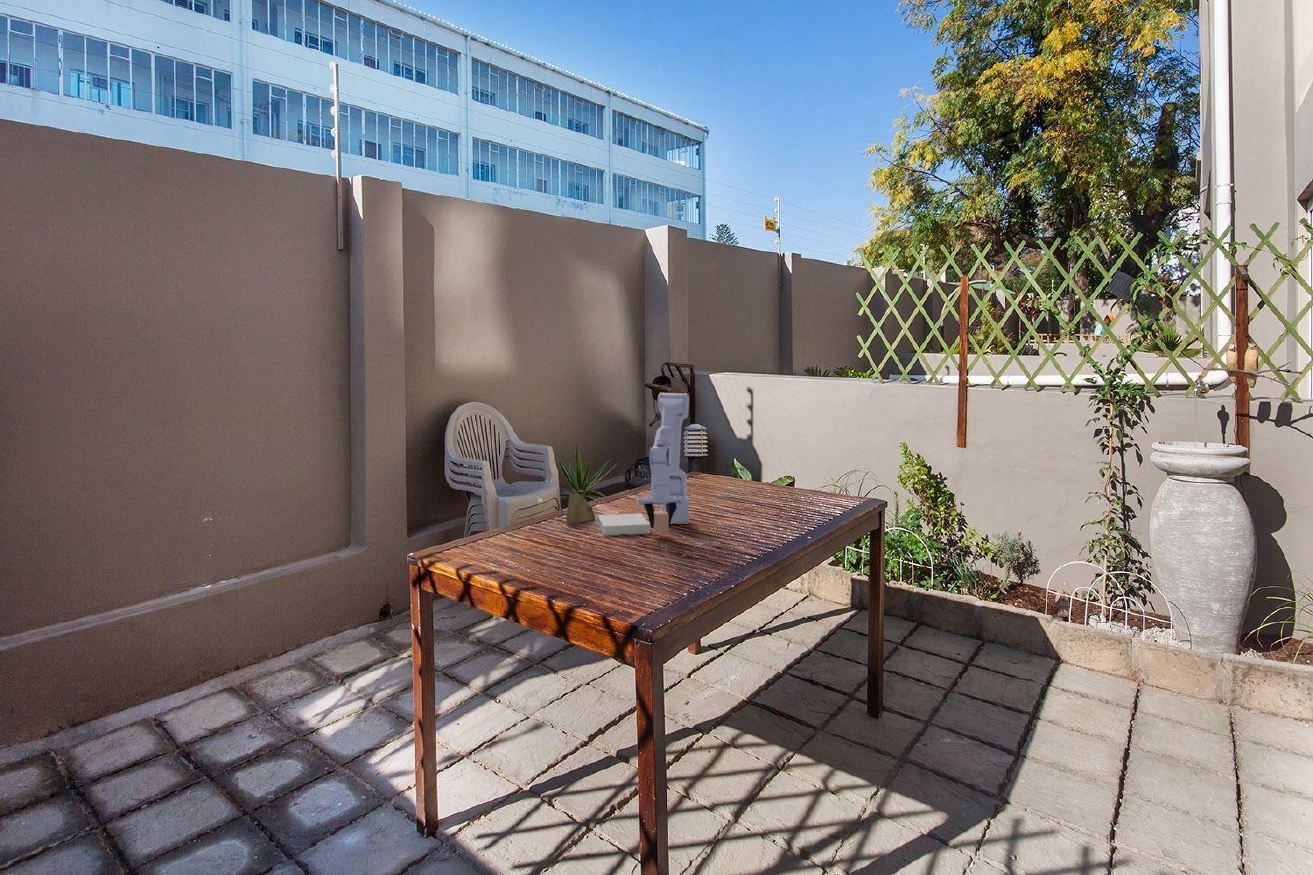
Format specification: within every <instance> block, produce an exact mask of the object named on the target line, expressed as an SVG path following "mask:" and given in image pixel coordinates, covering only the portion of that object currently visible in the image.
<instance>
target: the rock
mask: <svg viewBox="0 0 1313 875" xmlns="http://www.w3.org/2000/svg"><path fill="white" fill-rule="evenodd" d="M567 503H568V504H567V512H566V521H565V523H566V525H570V524H580V523H585V522H589V521H593V520H596V515H595V512H594V510H593V507H591V506H592V505H590V504H589V502H588V501H587V499H586V498H585V497H584V496H583V495H581V494H579V493H578V492H570V493H569V497H568V502H567Z"/></svg>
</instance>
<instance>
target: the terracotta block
mask: <svg viewBox="0 0 1313 875" xmlns="http://www.w3.org/2000/svg"><path fill="white" fill-rule="evenodd" d="M669 529H670V527H669V514H668V513H667V512H666V511H661V510H654V528H651V527H650V531H652V533H653V534H656V535H657V534H669Z"/></svg>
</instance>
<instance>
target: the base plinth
mask: <svg viewBox="0 0 1313 875" xmlns="http://www.w3.org/2000/svg"><path fill="white" fill-rule="evenodd" d="M596 517H597V520H596V521H597V526H598V528H599V529H600V531H601V533H602V535H603V536H619V535H620V536H622V535H621V534H627V535H647V534H648V535H649V534H650V535H651V527H650V521H649V520H647V519H646V517H645V516H644V515H643V514H642V513H625V514H621V513H620V514H597V516H596Z"/></svg>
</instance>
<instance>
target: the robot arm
mask: <svg viewBox="0 0 1313 875" xmlns="http://www.w3.org/2000/svg"><path fill="white" fill-rule="evenodd" d="M689 405H690V396H689V394H688V393H687V392H685V393H677V392H663V391H662V392H660V393H659V394H658V397H657V409H658V411H659V414H660V415H661V416H660V417H661V424H660V427H659V428H657V430H656V433H655V436H654V441H653V442H654V443H653V445H652V447H650V449H649V454H648V455H649V456H648V457H649V464H650V465H649V469H650V470H651V471H650V472H651V473H650V474H651V475H650V477H651V480H650V483H651V485H650V486H651V487H650V496H646V497H637V498H636V505H637V507H638V506H639V507H640V506H643V507H644V509H645V512H646V514H647V517H648V522H649V523H650V529H651V528H654V511H655V508H654V505H660V511H666V512H667V513H668V514H669V528H670V526H671V525H670V523H677V522H685V521H689V522H690V498H689V497H688V496H686V495H687V492H688V476H687V473H686V472H685V471H684V470H682V468H680V460H681V459H680V457H681V443H682V442H681V439H682V424H683V421H684V420H685V419H688V417H689V411H690V409H689V408H690V406H689Z"/></svg>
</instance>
